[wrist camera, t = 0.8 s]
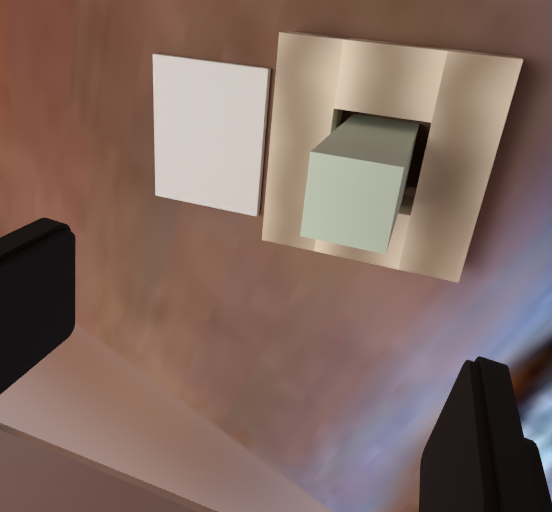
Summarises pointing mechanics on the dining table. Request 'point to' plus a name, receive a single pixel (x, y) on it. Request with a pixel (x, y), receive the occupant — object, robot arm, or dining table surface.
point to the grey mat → (210, 131)
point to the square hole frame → (400, 104)
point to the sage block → (358, 182)
